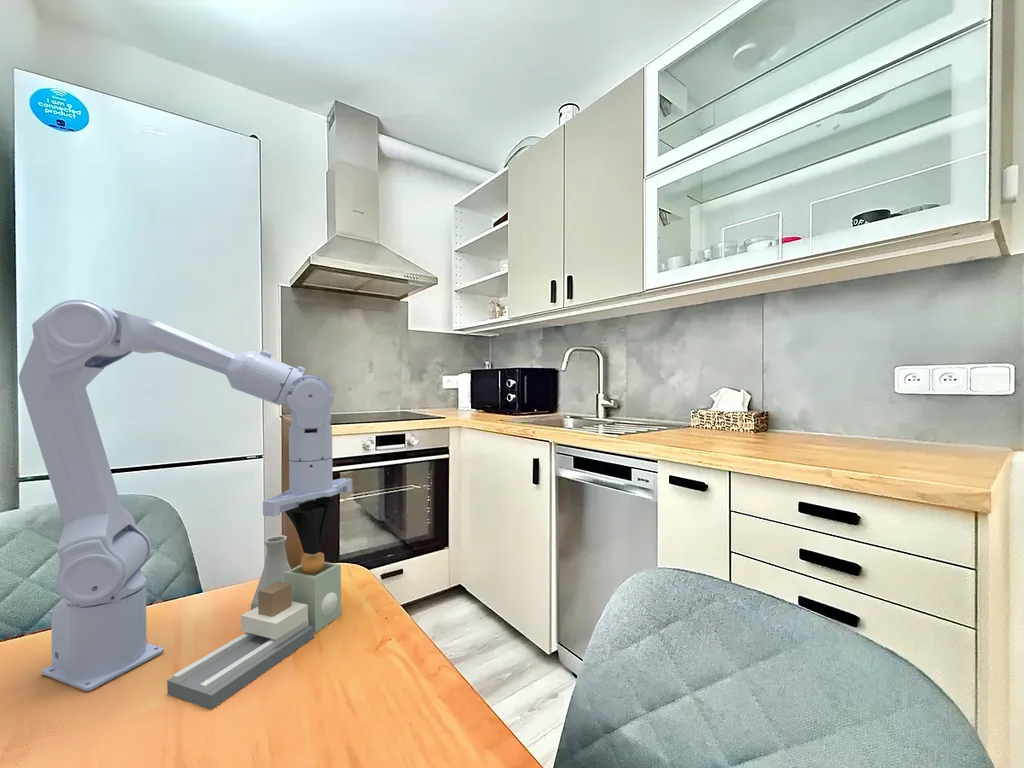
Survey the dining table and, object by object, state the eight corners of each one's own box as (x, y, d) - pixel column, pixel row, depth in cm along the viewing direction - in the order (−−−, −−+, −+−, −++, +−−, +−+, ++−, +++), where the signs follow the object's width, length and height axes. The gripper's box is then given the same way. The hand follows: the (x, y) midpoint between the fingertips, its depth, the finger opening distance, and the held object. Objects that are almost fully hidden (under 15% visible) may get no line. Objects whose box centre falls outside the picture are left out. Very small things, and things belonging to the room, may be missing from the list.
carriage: (241, 630, 57) (241, 592, 57) (274, 612, 61) (274, 576, 61) (276, 639, 55) (275, 599, 55) (307, 619, 59) (307, 582, 59)
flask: (293, 586, 75) (293, 527, 75) (308, 601, 70) (307, 538, 70) (245, 601, 70) (244, 538, 70) (256, 618, 65) (255, 550, 65)
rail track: (167, 694, 49) (167, 673, 49) (275, 628, 62) (274, 611, 62) (211, 709, 46) (211, 687, 46) (313, 637, 60) (313, 620, 60)
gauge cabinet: (284, 625, 63) (284, 572, 63) (311, 608, 67) (311, 559, 67) (316, 633, 61) (315, 578, 61) (342, 615, 65) (341, 564, 65)
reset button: (296, 572, 63) (296, 558, 63) (313, 564, 66) (312, 551, 66) (313, 575, 62) (313, 561, 62) (328, 567, 65) (328, 553, 65)
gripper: (290, 469, 56) (292, 576, 56) (366, 452, 69) (367, 538, 69) (250, 466, 58) (251, 569, 58) (331, 450, 72) (332, 533, 72)
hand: (312, 552), depth 64 cm, fingers closed
